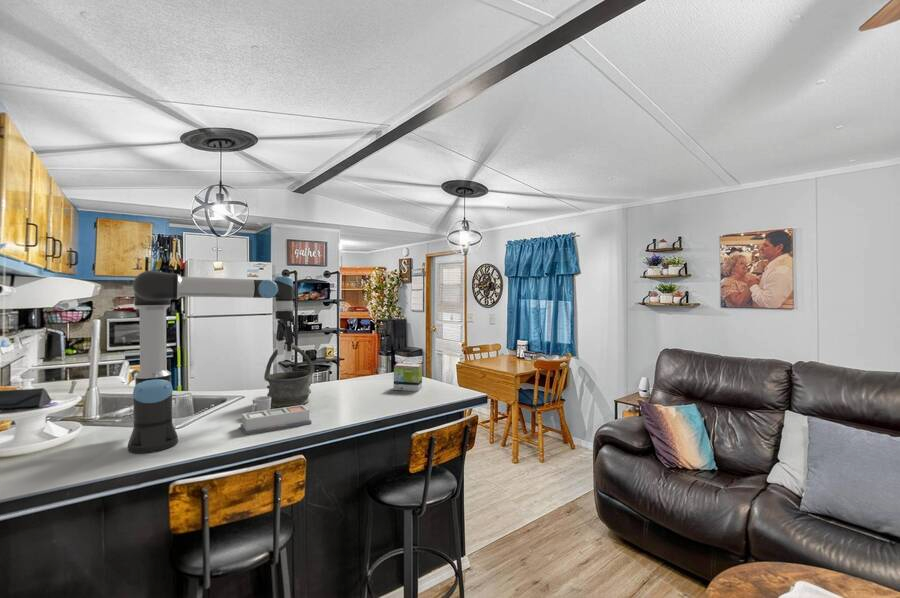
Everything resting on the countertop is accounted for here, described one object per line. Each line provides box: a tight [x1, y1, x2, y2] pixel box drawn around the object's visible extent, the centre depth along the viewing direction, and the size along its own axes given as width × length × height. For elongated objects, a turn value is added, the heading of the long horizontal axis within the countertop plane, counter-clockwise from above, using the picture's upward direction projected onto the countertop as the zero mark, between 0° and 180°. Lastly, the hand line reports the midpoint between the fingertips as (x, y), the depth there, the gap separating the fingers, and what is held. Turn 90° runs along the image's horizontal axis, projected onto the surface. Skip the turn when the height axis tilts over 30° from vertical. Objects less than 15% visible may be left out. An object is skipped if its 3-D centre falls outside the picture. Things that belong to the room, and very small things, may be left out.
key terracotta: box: [288, 407, 303, 412], centre depth 186 cm, size 5×5×2 cm
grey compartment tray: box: [239, 404, 312, 436], centre depth 181 cm, size 26×12×6 cm, turn 125°
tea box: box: [393, 362, 423, 392], centre depth 250 cm, size 15×10×15 cm, turn 81°
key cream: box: [248, 413, 264, 418], centre depth 176 cm, size 5×5×2 cm
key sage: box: [269, 410, 284, 415], centre depth 181 cm, size 5×5×2 cm
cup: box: [250, 395, 272, 412], centre depth 194 cm, size 11×8×8 cm
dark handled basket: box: [263, 344, 315, 409], centre depth 217 cm, size 22×23×30 cm
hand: (284, 356), depth 195 cm, fingers open, 13 cm apart
